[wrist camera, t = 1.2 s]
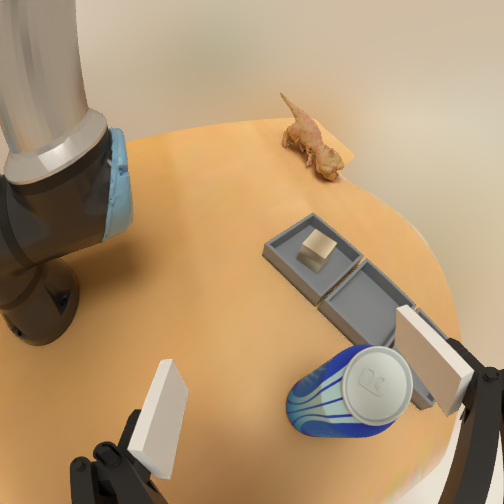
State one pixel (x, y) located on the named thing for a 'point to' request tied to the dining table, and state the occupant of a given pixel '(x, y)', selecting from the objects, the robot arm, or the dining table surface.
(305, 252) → the beige cube
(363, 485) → the dining table surface
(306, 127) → the toy
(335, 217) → the dining table surface
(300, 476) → the dining table surface
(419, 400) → the tray
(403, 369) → the beer can
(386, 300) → the tray middle
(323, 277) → the tray
